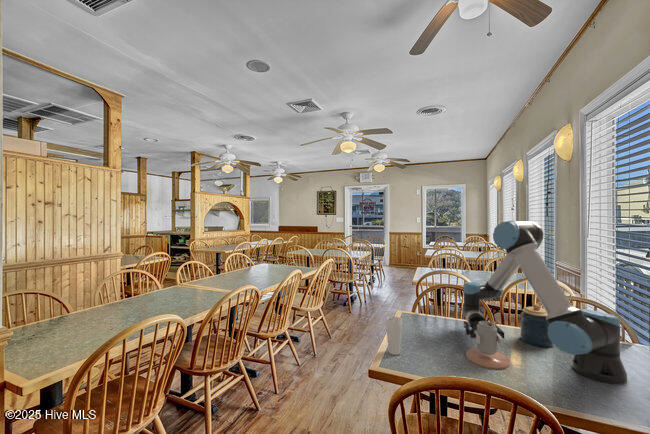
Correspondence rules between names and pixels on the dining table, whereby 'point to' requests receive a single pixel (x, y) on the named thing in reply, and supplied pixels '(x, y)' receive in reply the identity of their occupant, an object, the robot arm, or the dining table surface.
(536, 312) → the canister
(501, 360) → the terracotta plate
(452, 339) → the dining table surface
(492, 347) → the can
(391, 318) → the drinking glass
